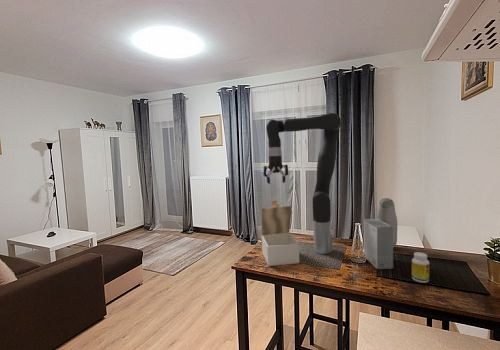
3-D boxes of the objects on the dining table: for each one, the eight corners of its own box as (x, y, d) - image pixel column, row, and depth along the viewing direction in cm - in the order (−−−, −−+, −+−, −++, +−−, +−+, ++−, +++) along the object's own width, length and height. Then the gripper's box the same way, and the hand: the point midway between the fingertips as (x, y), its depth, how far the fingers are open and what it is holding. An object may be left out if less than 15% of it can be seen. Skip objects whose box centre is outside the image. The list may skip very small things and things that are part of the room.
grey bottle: (375, 244, 151) (375, 196, 148) (395, 245, 147) (395, 196, 145) (377, 250, 141) (377, 200, 139) (399, 252, 138) (399, 200, 135)
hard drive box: (393, 269, 120) (393, 226, 118) (377, 269, 120) (376, 227, 118) (378, 255, 135) (377, 218, 134) (363, 256, 136) (362, 218, 134)
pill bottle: (429, 284, 105) (429, 258, 104) (411, 281, 109) (411, 255, 108) (428, 277, 111) (429, 252, 110) (411, 274, 114) (411, 250, 113)
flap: (289, 232, 148) (286, 225, 154) (291, 206, 140) (288, 199, 146) (261, 235, 147) (259, 227, 152) (262, 208, 138) (260, 201, 144)
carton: (289, 249, 149) (289, 232, 148) (299, 262, 132) (298, 243, 131) (262, 252, 148) (261, 235, 147) (268, 266, 130) (267, 246, 129)
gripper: (285, 154, 154) (286, 181, 156) (261, 155, 153) (263, 183, 154) (288, 154, 147) (290, 183, 148) (264, 156, 145) (265, 184, 147)
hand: (276, 183), depth 151 cm, fingers open, 8 cm apart
